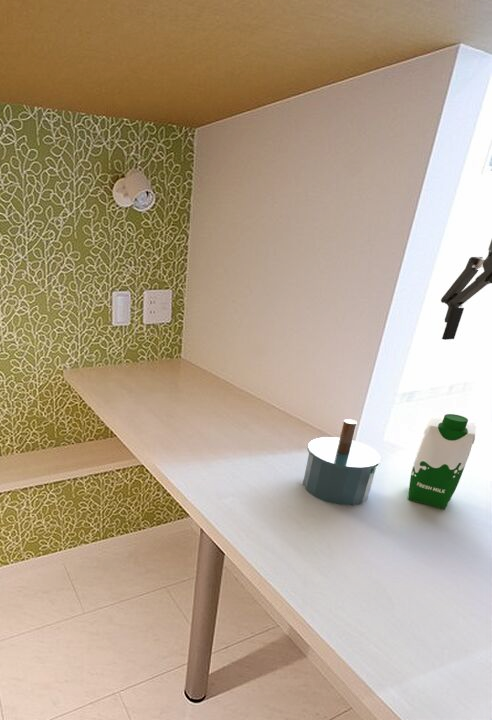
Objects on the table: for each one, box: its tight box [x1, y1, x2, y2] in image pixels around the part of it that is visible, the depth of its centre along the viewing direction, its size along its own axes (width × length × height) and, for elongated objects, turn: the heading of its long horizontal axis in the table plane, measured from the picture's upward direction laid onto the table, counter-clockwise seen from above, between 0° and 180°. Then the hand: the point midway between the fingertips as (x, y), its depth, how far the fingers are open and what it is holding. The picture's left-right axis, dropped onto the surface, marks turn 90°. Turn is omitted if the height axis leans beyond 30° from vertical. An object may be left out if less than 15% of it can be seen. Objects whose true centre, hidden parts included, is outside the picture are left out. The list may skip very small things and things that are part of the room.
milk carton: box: [407, 413, 476, 510], centre depth 93 cm, size 9×9×20 cm
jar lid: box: [306, 419, 382, 470], centre depth 94 cm, size 15×15×8 cm
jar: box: [302, 452, 377, 506], centre depth 97 cm, size 14×14×10 cm
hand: (479, 346), depth 88 cm, fingers open, 13 cm apart
